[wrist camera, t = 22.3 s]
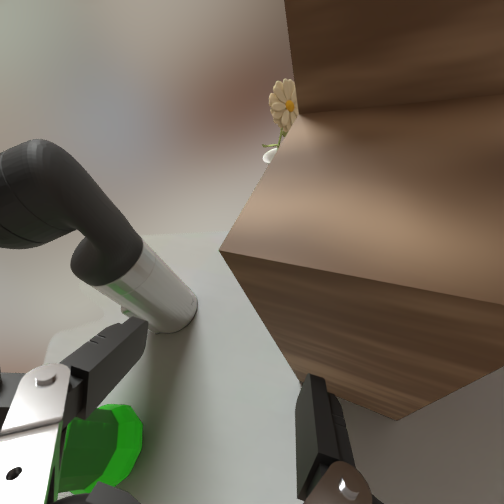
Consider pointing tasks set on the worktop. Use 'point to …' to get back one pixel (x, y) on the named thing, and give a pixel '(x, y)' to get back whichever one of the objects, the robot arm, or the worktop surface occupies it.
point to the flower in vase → (282, 111)
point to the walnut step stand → (385, 202)
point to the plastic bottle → (100, 448)
